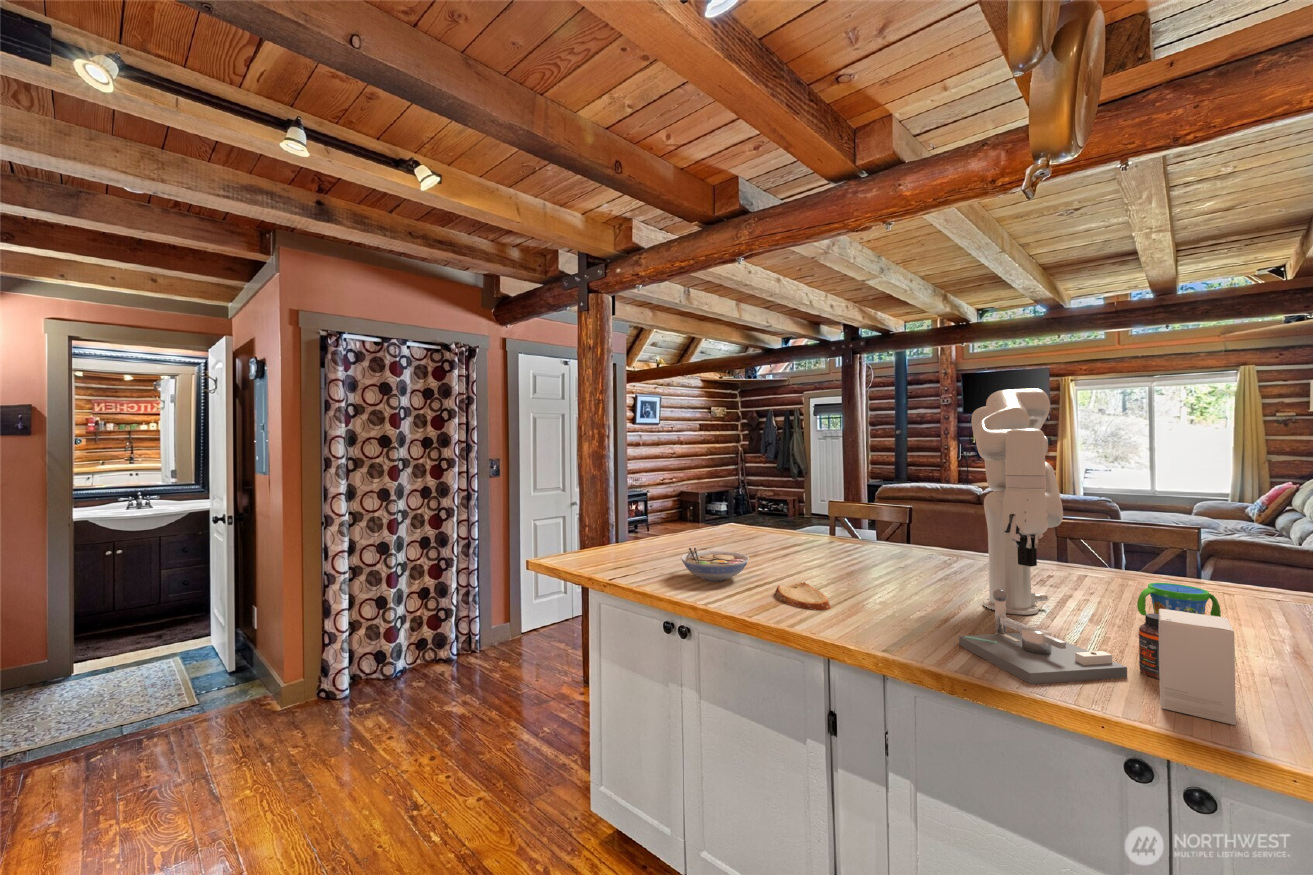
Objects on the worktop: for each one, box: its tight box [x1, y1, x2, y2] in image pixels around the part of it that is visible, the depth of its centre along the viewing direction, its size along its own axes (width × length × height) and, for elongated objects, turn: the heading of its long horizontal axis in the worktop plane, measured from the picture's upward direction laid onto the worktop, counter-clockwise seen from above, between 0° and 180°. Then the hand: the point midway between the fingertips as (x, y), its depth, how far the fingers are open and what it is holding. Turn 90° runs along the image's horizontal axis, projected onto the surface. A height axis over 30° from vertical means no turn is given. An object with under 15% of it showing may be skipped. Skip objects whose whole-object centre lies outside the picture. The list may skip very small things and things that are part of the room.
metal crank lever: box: [993, 589, 1067, 654], centre depth 116 cm, size 18×5×10 cm, turn 7°
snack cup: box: [1136, 582, 1222, 617], centre depth 130 cm, size 16×10×10 cm
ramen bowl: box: [680, 547, 750, 583], centre depth 184 cm, size 25×23×8 cm
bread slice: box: [774, 581, 832, 611], centre depth 160 cm, size 18×18×4 cm
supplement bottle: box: [1138, 612, 1159, 680], centre depth 105 cm, size 6×6×11 cm
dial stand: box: [958, 632, 1128, 685], centre depth 113 cm, size 20×20×4 cm
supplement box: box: [1158, 609, 1237, 726], centre depth 93 cm, size 9×9×15 cm
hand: (1027, 565), depth 124 cm, fingers closed
